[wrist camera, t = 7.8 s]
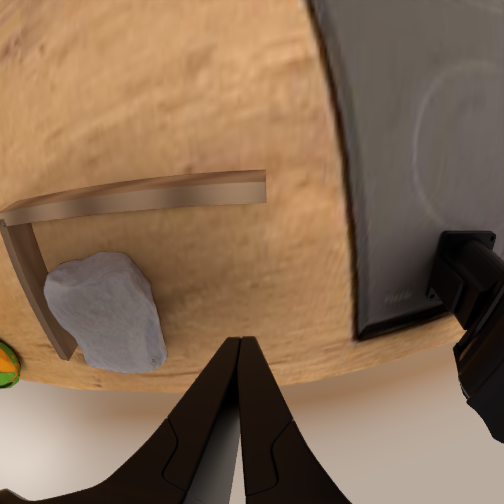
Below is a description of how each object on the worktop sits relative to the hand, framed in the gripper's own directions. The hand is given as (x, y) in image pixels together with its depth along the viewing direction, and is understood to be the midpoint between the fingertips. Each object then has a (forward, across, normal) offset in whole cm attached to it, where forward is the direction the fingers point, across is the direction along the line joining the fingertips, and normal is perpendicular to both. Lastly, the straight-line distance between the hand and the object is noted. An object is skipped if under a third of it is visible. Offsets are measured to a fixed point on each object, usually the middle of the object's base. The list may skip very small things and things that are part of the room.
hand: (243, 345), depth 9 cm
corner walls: (+12, +10, +5) cm, 17 cm away
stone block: (+13, +13, +8) cm, 20 cm away
